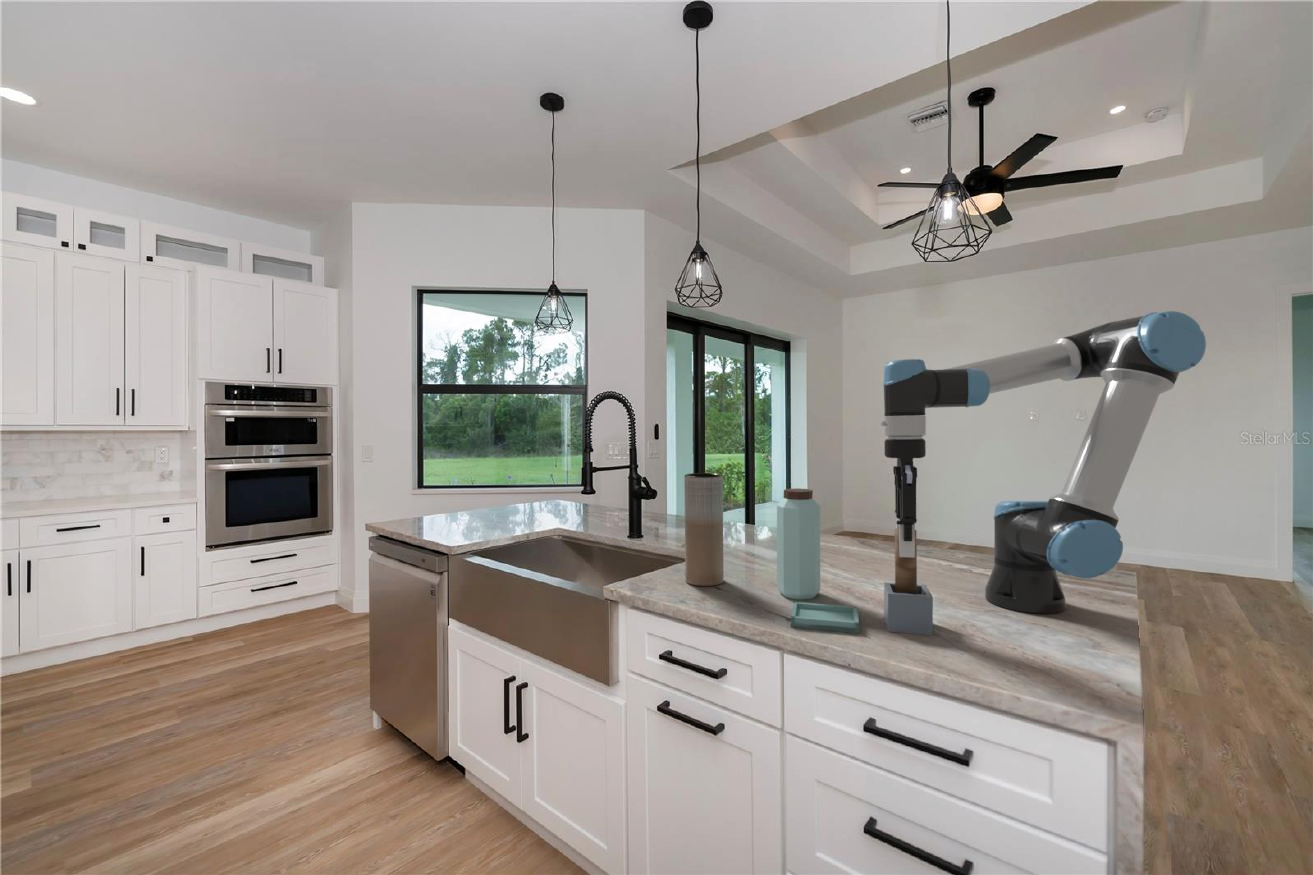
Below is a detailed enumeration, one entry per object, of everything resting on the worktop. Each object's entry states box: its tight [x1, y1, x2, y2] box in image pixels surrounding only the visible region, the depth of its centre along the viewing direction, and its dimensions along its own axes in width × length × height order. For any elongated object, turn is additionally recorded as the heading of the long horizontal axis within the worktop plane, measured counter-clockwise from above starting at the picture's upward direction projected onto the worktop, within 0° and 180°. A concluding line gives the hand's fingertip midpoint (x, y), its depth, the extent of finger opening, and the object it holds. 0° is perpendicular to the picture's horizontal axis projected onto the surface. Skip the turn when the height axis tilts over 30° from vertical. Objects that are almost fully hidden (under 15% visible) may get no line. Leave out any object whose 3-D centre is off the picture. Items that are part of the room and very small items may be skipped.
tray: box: [790, 601, 860, 634], centre depth 118 cm, size 13×10×2 cm
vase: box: [683, 472, 725, 587], centre depth 148 cm, size 10×10×28 cm
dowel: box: [894, 527, 918, 594], centre depth 115 cm, size 4×4×14 cm
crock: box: [883, 581, 934, 636], centre depth 115 cm, size 8×8×8 cm
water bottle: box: [776, 487, 821, 601], centre depth 136 cm, size 10×10×25 cm
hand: (905, 553), depth 115 cm, fingers closed on dowel, 4 cm apart
